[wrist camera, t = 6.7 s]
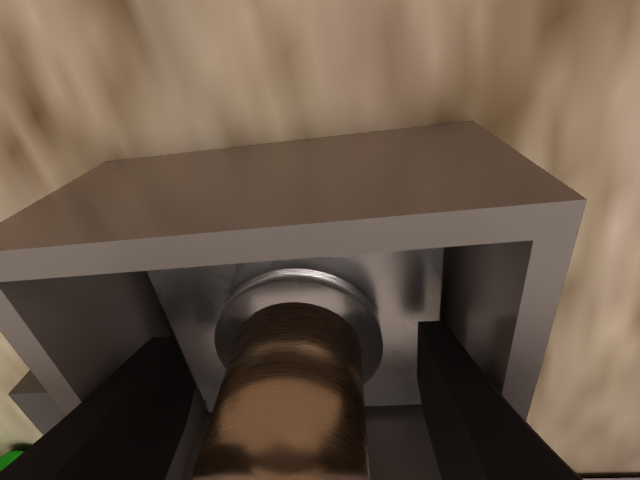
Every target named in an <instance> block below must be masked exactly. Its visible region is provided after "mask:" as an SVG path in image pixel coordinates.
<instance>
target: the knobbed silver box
mask: <svg viewBox="0 0 640 480" xmlns="http://www.w3.org/2000/svg"><path fill="white" fill-rule="evenodd" d="M586 201H587V199H586V198H584V197H583V196H581V195H580V194H578V193H577V192H576V191H574V190H573V189H571V188H570V187H568V186H567V185H565V184H564V183H562V182H561V181H560V180H558V179H557V178H555V177H554V176H552V175H551V174H549V173H548V172H546V171H545V170H544V169H542V168H541V167H539V166H538V165H536V164H535V163H533V162H532V161H530V160H529V159H528V158H526V157H525V156H523V155H522V154H520V153H519V152H517V151H516V150H514V149H513V148H512V147H510V146H509V145H507V144H506V143H504V142H503V141H501V140H500V139H498V138H497V137H495V136H494V135H493V134H491V133H490V132H488V131H487V130H485V129H484V128H482V127H481V126H479V125H478V124H477V123H475V122H474V121H466V122H457V123H448V124H439V125H430V126H421V127H412V128H403V129H394V130H385V131H376V132H367V133H358V134H349V135H340V136H331V137H322V138H313V139H304V140H295V141H286V142H277V143H268V144H259V145H250V146H241V147H232V148H223V149H214V150H205V151H196V152H187V153H178V154H169V155H160V156H151V157H142V158H133V159H124V160H115V161H106V162H105V163H103V164H101V165H99V166H98V167H96V168H94V169H92V170H91V171H89V172H87V173H85V174H84V175H82V176H80V177H78V178H77V179H75V180H73V181H72V182H70V183H68V184H66V185H65V186H63V187H61V188H59V189H58V190H56V191H54V192H52V193H51V194H49V195H47V196H46V197H44V198H42V199H40V200H39V201H37V202H35V203H33V204H32V205H30V206H28V207H26V208H25V209H23V210H21V211H19V212H18V213H16V214H14V215H13V216H11V217H9V218H7V219H6V220H4V221H2V222H0V331H1V333H2V334H3V335H4V337H5V338H6V339H7V340H8V342H9V343H10V344H11V346H12V347H13V348H14V349H15V351H16V352H17V353H18V355H19V356H20V357H21V358H22V360H23V361H24V362H25V364H26V365H27V366H28V367H29V369H30V371H29V372H28V373H27V374H26V375H25V376H24V377H23V378H22V379H21V381H20V382H19V383H18V384H17V385H16V386H15V387H14V388H13V389H12V390H11V392H10V393H9V394H8V395H9V396H10V397H11V398H12V399H13V401H14V402H15V403H16V404H17V405H18V406H19V408H20V409H21V410H22V411H23V412H24V413H25V415H26V416H27V417H28V418H29V419H30V420H31V421H32V423H33V424H34V425H35V426H36V427H37V428H38V430H39V431H40V432H41V433H42V434H43V435H45V434H46V433H47V432H48V431H49V430H50V429H52V428H53V427H54V426H55V425H56V424H57V423H58V422H60V421H61V420H62V419H63V418H64V417H65V416H67V415H68V414H69V413H70V412H71V411H72V410H73V409H75V408H76V407H77V406H78V405H79V404H80V403H81V402H82V401H83V400H84V399H86V398H87V397H88V396H89V395H90V394H91V393H92V392H93V391H94V390H95V389H96V388H97V387H99V386H100V385H101V384H102V383H103V382H104V381H105V380H106V379H107V378H108V377H109V376H110V375H112V374H113V373H114V372H115V371H116V370H117V369H118V368H119V367H120V366H121V365H122V364H123V363H124V362H125V361H126V360H128V359H129V358H130V357H131V356H132V355H133V354H134V353H135V352H136V351H137V350H138V349H139V348H141V347H142V346H143V345H144V344H145V343H146V342H147V341H149V340H150V339H151V338H152V337H167V336H174V339H175V341H176V343H177V345H178V347H179V350H180V352H181V354H182V356H183V359H184V361H185V363H186V365H187V367H188V370H189V372H190V374H191V376H192V379H193V381H194V383H195V385H196V387H195V392H194V396H193V400H192V404H191V408H190V412H189V416H188V419H187V423H186V426H185V429H184V432H183V434H182V437H181V440H180V442H179V445H178V447H177V450H176V453H175V455H174V458H173V460H172V463H171V466H170V468H169V471H168V473H167V476H166V478H165V480H193V468H194V465H195V462H196V459H197V456H198V453H199V450H200V447H201V444H202V441H203V438H204V435H205V432H206V429H207V426H208V423H209V420H210V417H211V414H212V412H209V410H208V408H207V406H206V404H205V401H204V399H203V397H202V395H201V392H200V390H199V388H198V386H197V383H196V381H195V379H194V377H193V374H192V372H191V370H190V368H189V365H188V363H187V361H186V359H185V356H184V354H183V352H182V350H181V347H180V345H179V343H178V341H177V338H176V336H175V334H174V332H173V330H172V327H171V325H170V323H169V321H168V318H167V316H166V314H165V312H164V309H163V307H162V305H161V303H160V300H159V298H158V296H157V294H156V291H155V289H154V287H153V285H152V282H151V280H150V278H149V276H148V273H147V271H149V270H161V269H174V268H187V267H200V266H212V265H225V264H238V263H250V262H263V261H276V260H289V259H301V258H314V257H327V256H339V255H352V254H365V253H378V252H390V251H403V250H416V249H428V248H441V247H444V248H443V264H442V281H441V297H440V314H439V321H441V320H443V321H444V322H445V323H447V325H448V326H449V328H450V329H451V330H452V332H453V333H454V335H455V336H456V338H457V339H458V340H459V342H460V343H461V344H462V346H463V347H464V348H465V350H466V351H467V352H468V354H469V355H470V356H471V358H472V359H473V360H474V361H475V363H476V364H477V365H478V367H479V368H480V369H481V370H482V372H483V373H484V374H485V375H486V376H487V378H488V379H489V380H490V381H491V382H492V384H493V385H494V386H495V387H496V388H497V389H498V391H499V392H500V393H501V394H502V395H503V397H504V398H505V399H506V400H507V401H508V402H509V404H510V405H511V406H512V407H513V408H514V409H515V410H516V411H517V413H518V414H519V415H520V416H521V417H522V418H523V419H524V420H525V421H526V419H527V415H528V412H529V408H530V405H531V401H532V397H533V394H534V390H535V386H536V383H537V379H538V375H539V372H540V368H541V365H542V361H543V357H544V354H545V350H546V346H547V343H548V339H549V335H550V332H551V328H552V325H553V321H554V317H555V314H556V310H557V306H558V303H559V299H560V295H561V292H562V288H563V285H564V281H565V277H566V274H567V270H568V266H569V263H570V259H571V256H572V252H573V248H574V245H575V241H576V237H577V234H578V230H579V226H580V223H581V219H582V216H583V212H584V208H585V205H586ZM365 416H366V430H367V444H368V458H369V472H370V480H442V478H441V474H440V471H439V467H438V464H437V460H436V457H435V453H434V450H433V446H432V443H431V439H430V436H429V432H428V429H427V425H426V422H425V418H424V414H423V408H422V404H417V405H389V406H365Z"/></svg>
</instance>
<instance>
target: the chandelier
mask: <svg viewBox="0 0 640 480" xmlns="http://www.w3.org/2000/svg"><path fill="white" fill-rule="evenodd" d="M24 452H25V451H24ZM24 452H23V451H11V452H8V453H6V454H5V455H4V456H2V457H1V458H0V471H1V470H3V469H4V468H5V467H6V466H8V465H9V464H10V463H11V462H13V461H14V460H15V459H16V458H18V457H19V456H20V455H21V454H22V453H24Z"/></svg>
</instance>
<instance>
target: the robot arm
mask: <svg viewBox="0 0 640 480" xmlns="http://www.w3.org/2000/svg"><path fill="white" fill-rule="evenodd" d="M417 381H418V386H419V392H420V398H421V403H422V408H423V414H424V418H425V422H426V425H427V429H428V432H429V436H430V439H431V443H432V446H433V450H434V453H435V457H436V460H437V464H438V467H439V471H440V474H441V478H442V480H640V478H584V479H582V478H581V477H580V476H579V475H578V474H577V473H575V472H574V471H573V470H572V469H571V468H570V467H569V466H568V465H567V464H566V463H565V462H564V461H563V460H562V459H561V458H560V457H559V456H558V455H557V454H556V453H555V452H554V451H553V450H552V449H551V448H550V447H549V446H548V445H547V444H546V443H545V441H544V440H543V439H542V438H541V437H540V436H539V435H538V434H537V433H536V432H535V431H534V430H533V429H532V428H531V427H530V426H529V424H528V423H527V422H526V421H525V420H524V419H523V418H522V417H521V416H520V415H519V414H518V413H517V411H516V410H515V409H514V408H513V407H512V406H511V405H510V404H509V402H508V401H507V400H506V399H505V398H504V397H503V395H502V394H501V393H500V392H499V391H498V389H497V388H496V387H495V386H494V385H493V384H492V382H491V381H490V380H489V379H488V378H487V376H486V375H485V374H484V373H483V372H482V370H481V369H480V368H479V367H478V365H477V364H476V363H475V361H474V360H473V359H472V358H471V356H470V355H469V354H468V352H467V351H466V350H465V348H464V347H463V346H462V344H461V343H460V342H459V340H458V339H457V338H456V336H455V335H454V333H453V332H452V330H451V329H450V328H449V326H448V325H447V323H445V322H444V321H443V320H441V321H424V322H418V341H417ZM195 387H196V385H195V383H194V381H193V379H192V376H191V374H190V372H189V370H188V367H187V365H186V363H185V361H184V359H183V356H182V354H181V352H180V350H179V347H178V345H177V343H176V341H175V339H174V336H167V337H152V338H151V339H150V340H149V341H147V342H146V343H145V344H144V345H143V346H142V347H141V348H139V349H138V350H137V351H136V352H135V353H134V354H133V355H132V356H131V357H130V358H129V359H128V360H126V361H125V362H124V363H123V364H122V365H121V366H120V367H119V368H118V369H117V370H116V371H115V372H114V373H113V374H112V375H110V376H109V377H108V378H107V379H106V380H105V381H104V382H103V383H102V384H101V385H100V386H99V387H97V388H96V389H95V390H94V391H93V392H92V393H91V394H90V395H89V396H88V397H87V398H86V399H84V400H83V401H82V402H81V403H80V404H79V405H78V406H77V407H76V408H75V409H73V410H72V411H71V412H70V413H69V414H68V415H67V416H65V417H64V418H63V419H62V420H61V421H60V422H58V423H57V424H56V425H55V426H54V427H53V428H52V429H50V430H49V431H48V432H47V433H46V434H45V435H44V436H42V437H41V438H40V439H39V440H38V441H37V442H35V443H34V444H33V445H32V446H31V447H30V448H28V449H27V450H26V451H25V452H24V453H22V454H21V455H20V456H19V457H18V458H16V459H15V460H14V461H13V462H11V463H10V464H9V465H8V466H6V467H5V468H4V469H3V470H1V471H0V480H165V478H166V476H167V473H168V471H169V468H170V466H171V463H172V460H173V458H174V455H175V453H176V450H177V447H178V445H179V442H180V440H181V437H182V434H183V432H184V429H185V426H186V423H187V419H188V416H189V412H190V408H191V404H192V400H193V396H194V392H195Z"/></svg>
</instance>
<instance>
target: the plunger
mask: <svg viewBox="0 0 640 480" xmlns="http://www.w3.org/2000/svg"><path fill="white" fill-rule="evenodd" d="M443 248H444V247H441V248H428V249H416V250H403V251H390V252H378V253H365V254H352V255H339V256H327V257H314V258H301V259H289V260H276V261H263V262H250V263H238V264H225V265H212V266H200V267H187V268H174V269H161V270H149V271H147V273H148V276H149V278H150V280H151V282H152V285H153V287H154V289H155V291H156V294H157V296H158V298H159V300H160V303H161V305H162V307H163V309H164V312H165V314H166V316H167V318H168V321H169V323H170V325H171V327H172V330H173V332H174V334H175V336H176V338H177V341H178V343H179V345H180V347H181V350H182V352H183V354H184V356H185V359H186V361H187V363H188V365H189V368H190V370H191V372H192V374H193V377H194V379H195V381H196V383H197V386H198V388H199V390H200V392H201V395H202V397H203V399H204V401H205V404H206V406H207V408H208V410H209V412H212V414H211V417H210V420H209V423H208V426H207V429H206V432H205V435H204V438H203V441H202V444H201V447H200V450H199V453H198V456H197V459H196V462H195V465H194V468H193V480H370V472H369V458H368V444H367V430H366V416H365V406H389V405H417V404H422V403H421V398H420V392H419V386H418V381H417V341H418V322H424V321H439V314H440V297H441V281H442V264H443Z"/></svg>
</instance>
